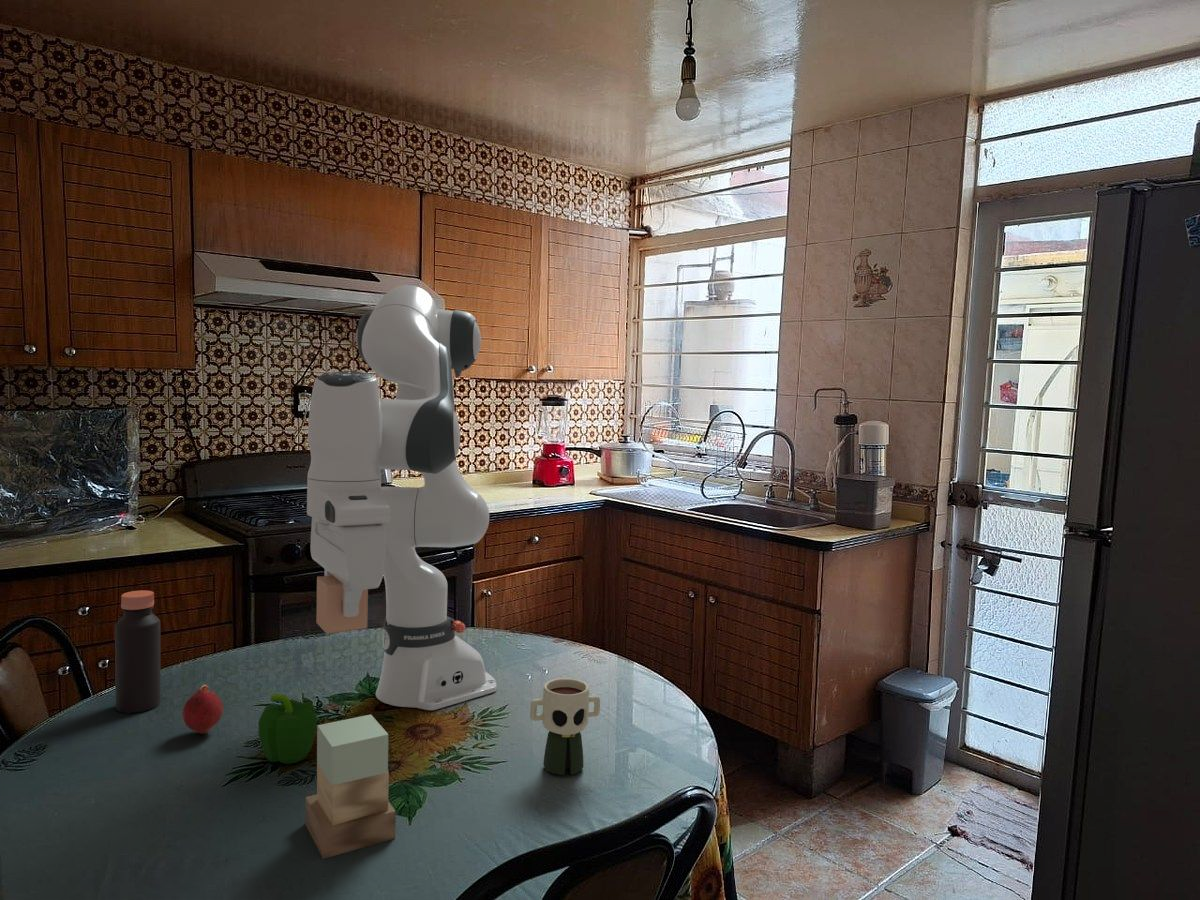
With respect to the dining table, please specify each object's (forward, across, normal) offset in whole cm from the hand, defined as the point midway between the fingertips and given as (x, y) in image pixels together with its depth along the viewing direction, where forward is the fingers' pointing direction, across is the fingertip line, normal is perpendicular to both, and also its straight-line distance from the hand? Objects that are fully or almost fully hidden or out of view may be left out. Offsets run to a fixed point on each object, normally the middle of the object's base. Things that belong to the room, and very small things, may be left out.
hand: (342, 608), depth 100 cm
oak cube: (+26, +1, +1) cm, 26 cm away
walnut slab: (+30, 0, +1) cm, 30 cm away
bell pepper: (+30, -24, -1) cm, 38 cm away
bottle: (+29, -56, -20) cm, 66 cm away
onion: (+29, -39, -11) cm, 50 cm away
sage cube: (+21, +1, +1) cm, 21 cm away
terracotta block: (+2, 0, 0) cm, 2 cm away
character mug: (+29, -1, +34) cm, 45 cm away
